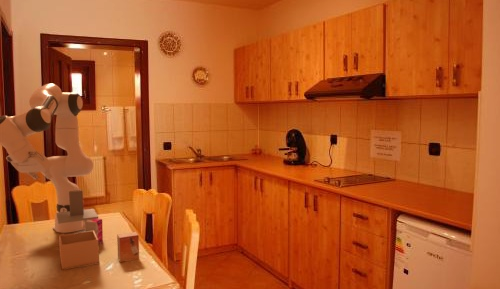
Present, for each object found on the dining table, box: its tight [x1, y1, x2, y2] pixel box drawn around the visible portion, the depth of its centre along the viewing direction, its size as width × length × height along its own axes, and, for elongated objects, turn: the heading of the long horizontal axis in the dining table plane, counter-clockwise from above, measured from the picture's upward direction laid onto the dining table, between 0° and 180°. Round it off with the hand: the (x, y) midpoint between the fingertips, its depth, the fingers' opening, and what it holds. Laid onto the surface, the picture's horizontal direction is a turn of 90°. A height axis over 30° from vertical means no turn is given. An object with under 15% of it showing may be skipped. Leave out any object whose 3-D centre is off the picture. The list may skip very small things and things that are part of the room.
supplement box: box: [84, 218, 104, 245], centre depth 189 cm, size 6×6×12 cm
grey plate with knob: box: [56, 189, 99, 224], centre depth 166 cm, size 15×15×11 cm
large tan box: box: [58, 231, 100, 271], centre depth 168 cm, size 14×14×10 cm
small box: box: [116, 231, 140, 263], centre depth 170 cm, size 8×6×10 cm
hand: (43, 178), depth 171 cm, fingers open, 8 cm apart
